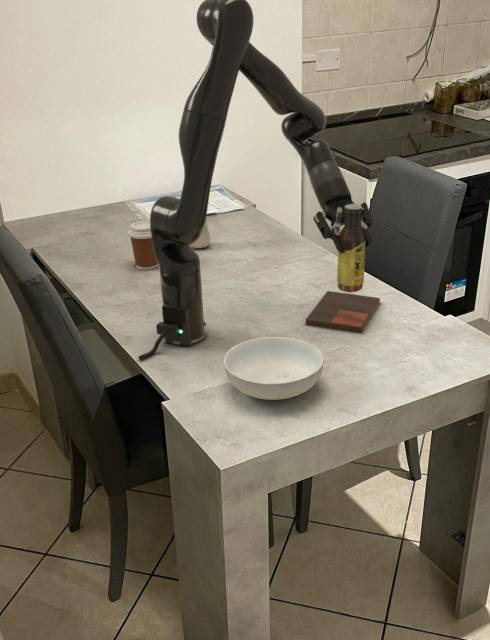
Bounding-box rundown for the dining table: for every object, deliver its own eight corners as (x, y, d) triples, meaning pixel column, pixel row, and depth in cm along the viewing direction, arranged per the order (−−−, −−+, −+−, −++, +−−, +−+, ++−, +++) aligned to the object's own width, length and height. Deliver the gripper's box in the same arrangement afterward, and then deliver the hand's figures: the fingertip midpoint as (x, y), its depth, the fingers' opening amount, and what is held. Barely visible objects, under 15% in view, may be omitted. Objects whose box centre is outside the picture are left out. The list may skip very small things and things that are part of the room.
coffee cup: (125, 269, 226) (120, 228, 220) (140, 257, 234) (136, 218, 228) (154, 273, 224) (150, 231, 218) (168, 261, 231) (165, 221, 225)
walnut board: (361, 333, 191) (361, 327, 190) (305, 325, 195) (305, 319, 194) (379, 303, 205) (380, 297, 204) (327, 296, 209) (327, 290, 208)
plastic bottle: (213, 248, 239) (209, 182, 229) (191, 252, 237) (186, 185, 227) (207, 241, 245) (203, 176, 234) (185, 244, 242) (180, 179, 232)
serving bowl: (340, 377, 173) (341, 349, 169) (291, 423, 157) (291, 393, 154) (259, 354, 182) (258, 327, 178) (205, 396, 166) (203, 367, 163)
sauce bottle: (358, 295, 187) (362, 213, 176) (333, 291, 189) (335, 209, 178) (366, 284, 192) (370, 204, 182) (342, 280, 194) (344, 200, 184)
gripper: (309, 181, 180) (336, 247, 177) (361, 172, 186) (389, 235, 184) (296, 198, 187) (323, 262, 184) (348, 188, 193) (374, 250, 190)
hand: (356, 249), depth 184 cm, fingers closed on sauce bottle, 6 cm apart
